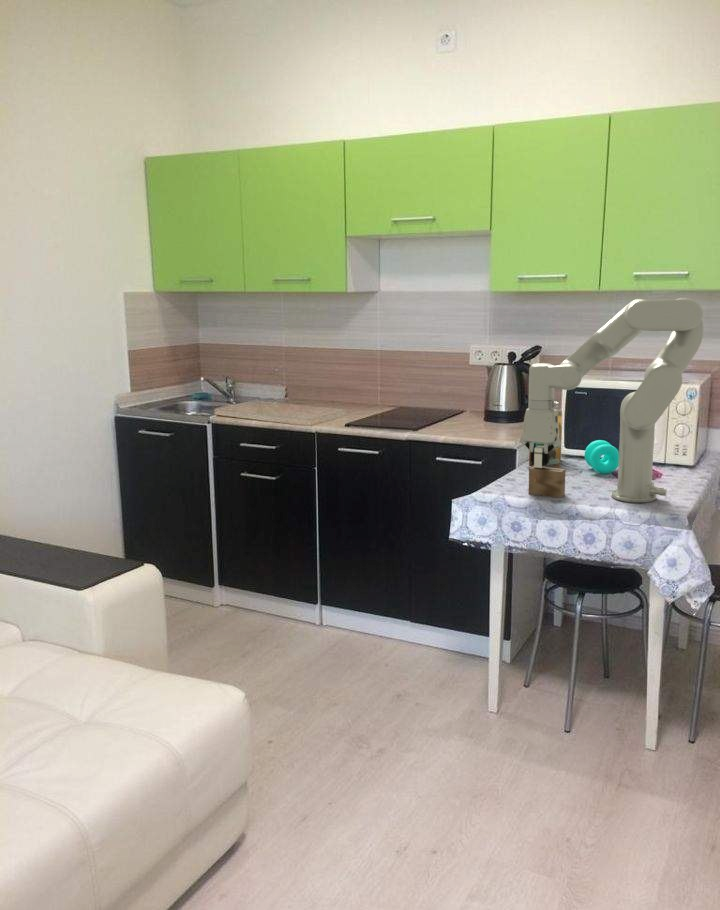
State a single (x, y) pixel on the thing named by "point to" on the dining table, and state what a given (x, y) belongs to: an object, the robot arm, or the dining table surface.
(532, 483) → the brown wooden block
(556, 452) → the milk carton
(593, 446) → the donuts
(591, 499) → the dining table surface
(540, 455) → the white lidded box
